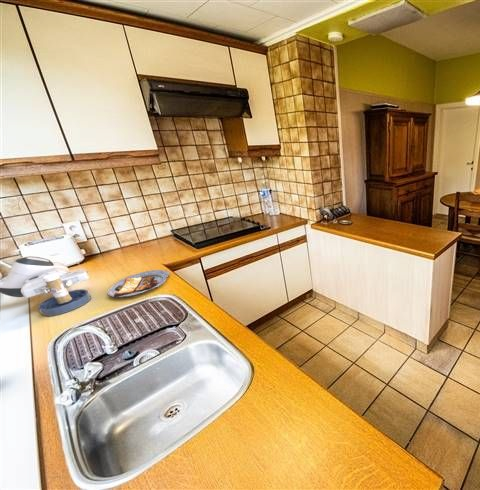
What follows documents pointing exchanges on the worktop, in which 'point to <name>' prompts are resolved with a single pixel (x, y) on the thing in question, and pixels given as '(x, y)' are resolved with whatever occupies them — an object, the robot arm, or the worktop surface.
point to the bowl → (54, 308)
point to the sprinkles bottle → (57, 288)
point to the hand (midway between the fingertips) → (57, 288)
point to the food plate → (138, 283)
